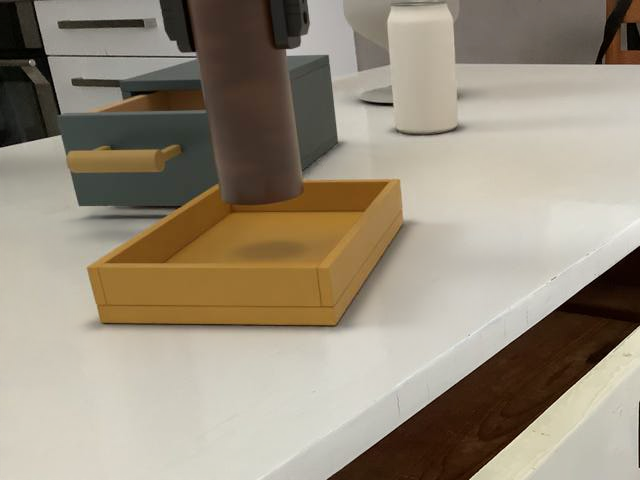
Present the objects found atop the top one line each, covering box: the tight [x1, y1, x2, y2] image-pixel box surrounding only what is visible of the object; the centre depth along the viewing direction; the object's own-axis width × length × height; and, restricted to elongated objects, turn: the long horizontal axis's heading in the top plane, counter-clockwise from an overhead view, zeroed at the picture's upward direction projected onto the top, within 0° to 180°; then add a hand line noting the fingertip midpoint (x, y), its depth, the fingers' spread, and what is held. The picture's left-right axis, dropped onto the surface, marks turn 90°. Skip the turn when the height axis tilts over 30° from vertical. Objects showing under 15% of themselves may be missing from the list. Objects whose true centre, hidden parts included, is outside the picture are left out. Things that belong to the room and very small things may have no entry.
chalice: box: [342, 0, 461, 104], centre depth 103 cm, size 14×14×15 cm
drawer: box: [56, 90, 218, 207], centre depth 63 cm, size 19×11×6 cm, turn 174°
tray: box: [86, 178, 404, 326], centre depth 49 cm, size 12×17×3 cm
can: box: [387, 1, 459, 135], centre depth 84 cm, size 6×6×12 cm
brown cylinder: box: [187, 0, 304, 205], centre depth 45 cm, size 5×5×12 cm
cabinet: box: [118, 54, 339, 171], centre depth 74 cm, size 16×13×8 cm
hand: (240, 47), depth 44 cm, fingers closed on brown cylinder, 4 cm apart
